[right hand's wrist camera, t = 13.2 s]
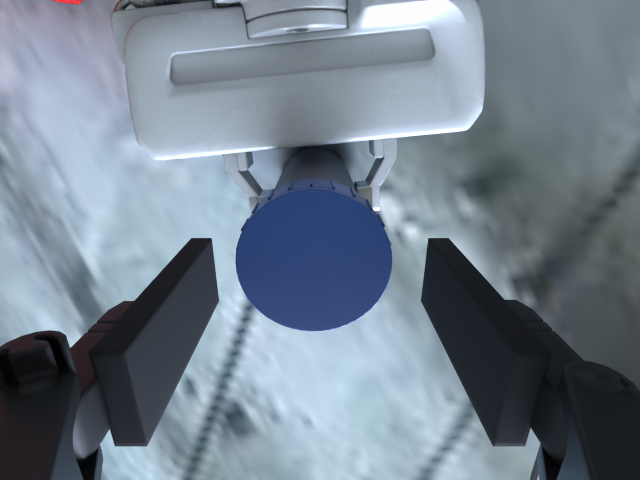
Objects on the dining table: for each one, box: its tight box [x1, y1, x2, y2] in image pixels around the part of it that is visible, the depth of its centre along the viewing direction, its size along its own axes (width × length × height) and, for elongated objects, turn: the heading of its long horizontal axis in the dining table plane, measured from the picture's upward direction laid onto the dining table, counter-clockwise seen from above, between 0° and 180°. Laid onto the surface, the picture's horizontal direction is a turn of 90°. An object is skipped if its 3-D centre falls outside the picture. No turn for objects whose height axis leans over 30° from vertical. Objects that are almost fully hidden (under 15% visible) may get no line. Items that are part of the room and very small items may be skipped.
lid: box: [236, 177, 392, 331], centre depth 16 cm, size 6×6×2 cm
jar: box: [274, 147, 357, 192], centre depth 23 cm, size 6×6×16 cm
